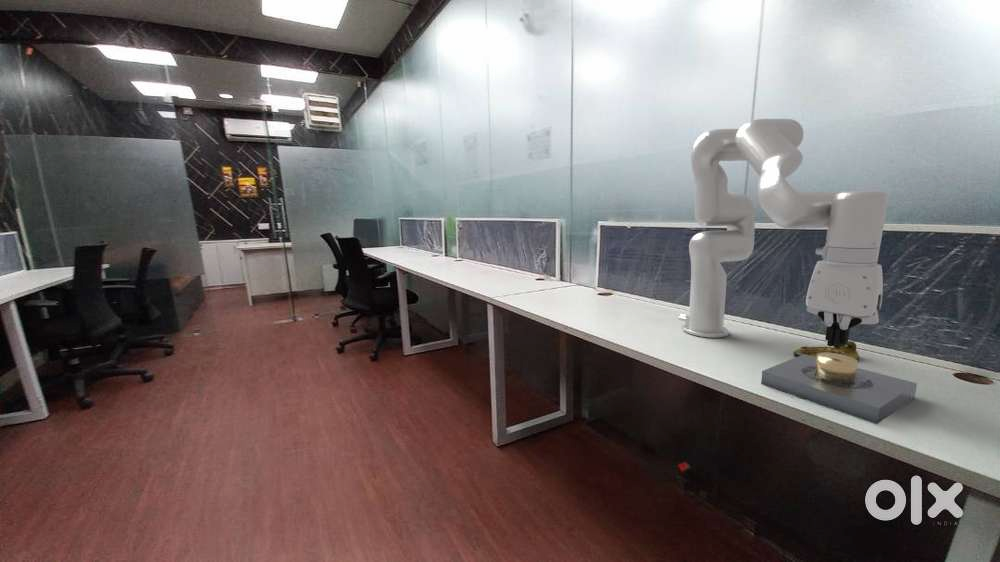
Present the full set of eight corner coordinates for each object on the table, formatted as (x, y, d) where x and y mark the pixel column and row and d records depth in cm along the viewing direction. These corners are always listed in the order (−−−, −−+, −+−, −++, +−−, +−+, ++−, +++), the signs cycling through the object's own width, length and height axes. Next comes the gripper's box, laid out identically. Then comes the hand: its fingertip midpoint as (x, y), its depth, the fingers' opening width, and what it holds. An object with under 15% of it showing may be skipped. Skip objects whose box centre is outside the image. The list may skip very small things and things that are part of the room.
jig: (761, 383, 77) (762, 370, 76) (802, 366, 85) (804, 354, 84) (877, 424, 61) (879, 408, 60) (914, 397, 69) (917, 383, 68)
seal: (811, 369, 86) (872, 366, 86) (815, 352, 85) (877, 349, 85) (781, 352, 95) (836, 349, 95) (784, 335, 94) (840, 332, 94)
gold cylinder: (807, 386, 74) (811, 356, 73) (821, 380, 77) (825, 350, 76) (845, 399, 69) (849, 366, 68) (858, 391, 72) (863, 359, 71)
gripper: (794, 254, 73) (783, 338, 77) (898, 262, 60) (879, 363, 64) (811, 251, 77) (800, 331, 80) (914, 258, 64) (895, 354, 67)
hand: (835, 345), depth 72 cm, fingers closed
